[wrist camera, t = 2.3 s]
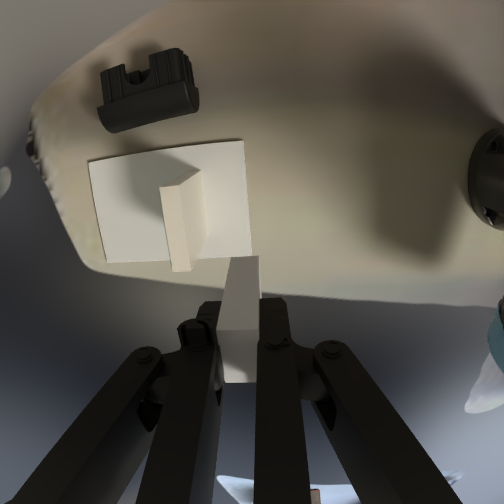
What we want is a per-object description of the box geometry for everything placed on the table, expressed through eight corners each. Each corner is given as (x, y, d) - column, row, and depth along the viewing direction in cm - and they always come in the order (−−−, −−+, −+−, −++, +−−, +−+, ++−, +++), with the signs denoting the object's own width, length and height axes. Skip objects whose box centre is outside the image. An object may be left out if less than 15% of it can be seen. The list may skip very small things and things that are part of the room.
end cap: (126, 133, 33) (100, 135, 27) (118, 80, 31) (91, 73, 24) (203, 113, 33) (190, 110, 26) (194, 58, 30) (180, 44, 24)
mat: (243, 140, 34) (243, 140, 33) (252, 253, 39) (251, 255, 38) (90, 162, 35) (88, 162, 34) (109, 261, 40) (107, 263, 39)
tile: (201, 170, 34) (179, 185, 25) (208, 235, 37) (191, 271, 28) (184, 171, 34) (157, 187, 25) (192, 236, 37) (170, 271, 28)
